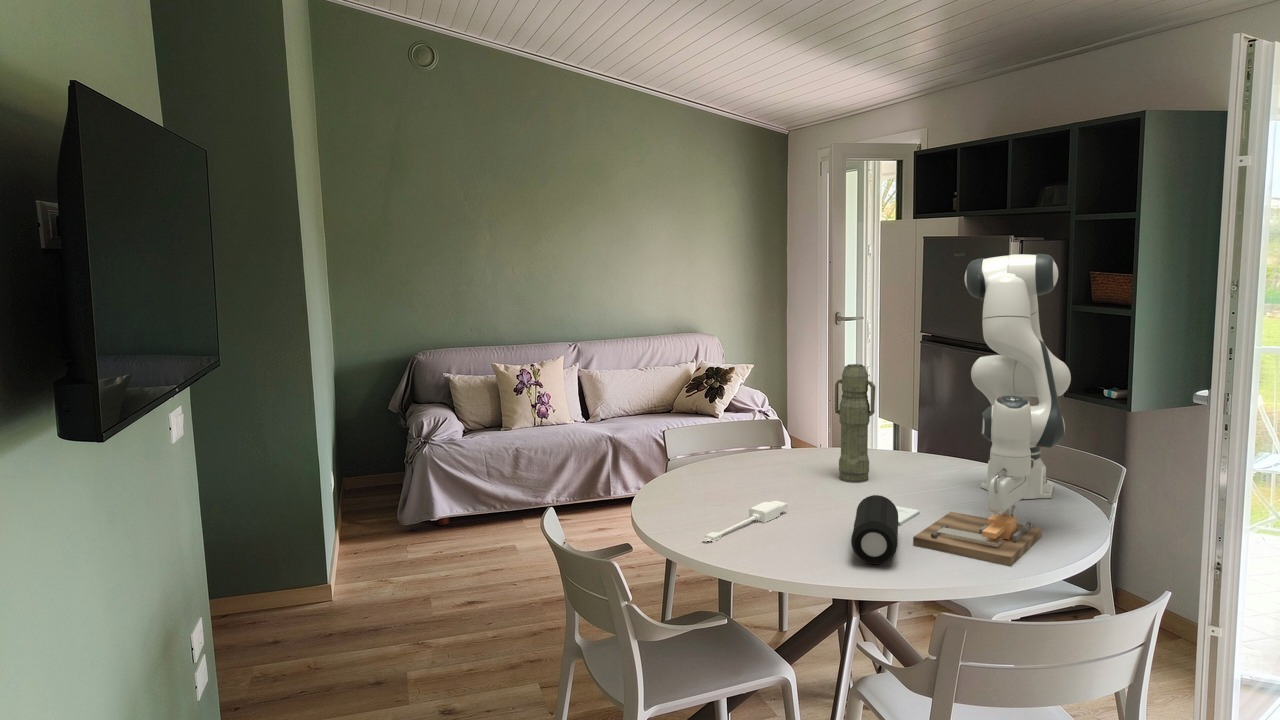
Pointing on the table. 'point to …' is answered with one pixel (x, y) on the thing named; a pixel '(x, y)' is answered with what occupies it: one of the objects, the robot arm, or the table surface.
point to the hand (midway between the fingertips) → (1007, 521)
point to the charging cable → (755, 516)
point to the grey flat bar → (970, 537)
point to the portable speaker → (875, 530)
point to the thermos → (854, 422)
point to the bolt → (1000, 527)
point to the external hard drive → (905, 514)
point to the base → (974, 524)
